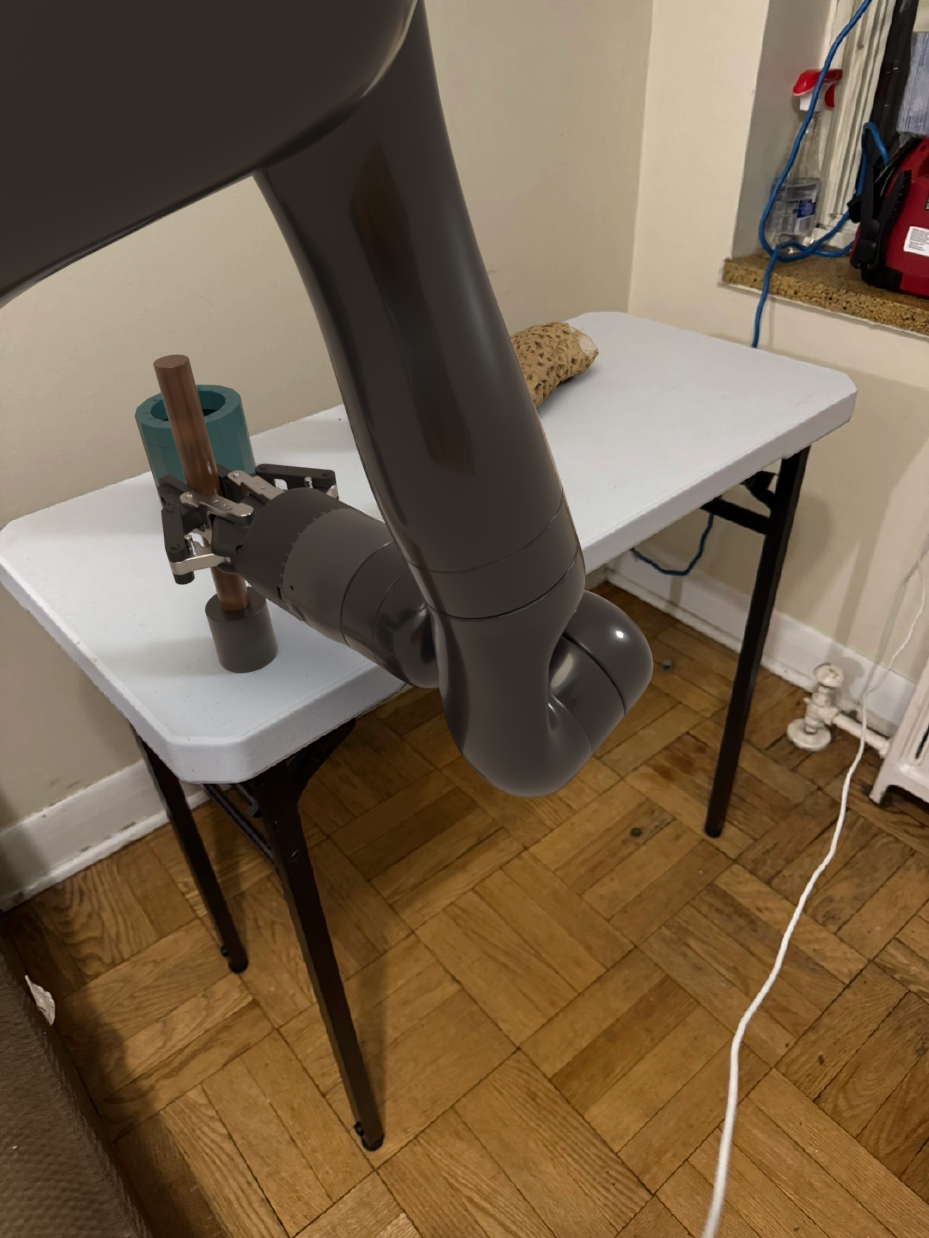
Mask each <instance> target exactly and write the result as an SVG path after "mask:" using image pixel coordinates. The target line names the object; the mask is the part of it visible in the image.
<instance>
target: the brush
mask: <svg viewBox="0 0 929 1238" xmlns="http://www.w3.org/2000/svg"><path fill="white" fill-rule="evenodd" d="M152 366H153V368H154V373H155V376H156V380H157V384H158V387H159V391H160V393H161V394H162V398H163V402H164V405H165V409H166V412H167V416H168V420H169V423H170V427H171V430H172V434H173V437H174V441H175V445H176V448H177V452H178V455H179V459H180V463H181V466H182V470H183V473H184V477H185V480H186V484H187V485H188V486H190V487H192V488H194V489H195V492H197V493H200V494H202V495H204V496H207V497H210V496H212V495H214V494H216V495H218V496H220V497H223V498H224V495H223V491H222V488H221V484H220V480H219V476H218V472H217V468H216V464H215V460H214V456H213V452H212V448H211V444H210V440H209V436H208V432H207V428H206V424H205V420H204V416H203V412H202V408H201V404H200V400H199V396H198V392H197V388H196V385H197V384H196V381H195V377H194V373H193V369H192V364H191V361H190V358H189V356H188V355H185V354H169V355H165V356H161V357H159V358H157V359H155V360H154V361H153V363H152ZM200 537H201V541H202V546H203V547H211V545H210V543H209V542H208V540H207V539H206V538H205V537H203V536H201V535H200ZM209 570H210V573H211V574H210V575H211V577H212V580H213V584H214V587H215V591H216V593H215V594H214V595H212V596H211V597H210V598H209V599H208V600H207V602H206V603H205V605H204V606H205V607H204V613H205V617H206V620H207V623H208V626H209V630H210V634H211V637H212V640H213V643H214V646H215V651H216V653H217V657H218V661H219V663H220V665H221V666H222V667H223V668H224V669H226V670H227V671H230V672H233V673H250V672H254V671H257V670H261V669H262V668H264V667H266V666H267V665H269V664H270V663H271V662H272V661H273V660H274V659H275V658H276V656H277V653H278V642H277V639H276V635H275V634H276V633H275V630H274V627H273V622H272V618H271V613H270V610H269V606H268V600H267V599H266V598H265V597H263V596H262V595H260V594H259V593H258V592H257V591H256V590H254V589H253V588H252V587H251V586H247V582H246V580H245V579H244V578H243V577H241V576H239V575H235V574H228V573H224V572H222V571H220V570H219V569H218V568H217V567H216V566H215V567H210V568H209Z"/></svg>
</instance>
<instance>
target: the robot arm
mask: <svg viewBox="0 0 929 1238" xmlns="http://www.w3.org/2000/svg"><path fill="white" fill-rule="evenodd" d="M425 1H426V0H0V310H2V309H3V308H4V307H5V306H7V305H8V304H9V303H10V302H11V301H13V300H14V299H16V298H18V297H19V296H20V295H22V294H24V293H25V292H26V291H28V290H30V289H31V288H33V287H35V286H36V285H38V284H39V283H41V282H42V281H44V280H46V279H48V278H50V277H52V276H53V275H55V274H57V273H59V272H60V271H62V270H65V269H66V268H67V267H70V266H71V265H73V264H75V263H77V262H79V261H81V260H83V259H85V258H87V257H89V256H91V255H93V254H95V253H97V252H99V251H101V250H103V249H105V248H106V247H109V246H110V245H112V244H115V243H117V242H118V241H121V240H123V239H125V238H126V237H129V236H131V235H133V234H135V233H137V232H139V231H140V230H143V229H145V228H147V227H148V226H151V225H152V224H155V223H156V222H159V221H160V220H162V219H164V218H167V217H168V216H171V215H173V214H175V213H177V212H179V211H181V210H183V209H186V208H187V207H190V206H191V205H194V204H196V203H198V202H200V201H202V200H205V199H206V198H209V197H210V196H212V195H215V194H217V193H219V192H221V191H223V190H225V189H228V188H230V187H231V186H234V185H236V184H239V183H240V182H243V181H244V180H247V179H249V178H251V177H252V179H253V181H254V183H255V185H256V186H257V188H258V190H259V192H260V193H261V195H262V197H263V199H264V201H265V203H266V205H267V207H268V209H269V211H270V213H271V215H272V217H273V219H274V221H275V223H276V226H277V227H278V229H279V231H280V234H281V235H282V238H283V240H284V242H285V244H286V247H287V248H288V251H289V253H290V255H291V258H292V260H293V262H294V264H295V266H296V269H297V273H298V274H299V277H300V280H301V282H302V284H303V287H304V290H305V292H306V295H307V297H308V299H309V302H310V304H311V307H312V309H313V310H312V311H313V313H314V316H315V319H316V321H317V324H318V327H319V330H320V333H321V336H322V338H323V342H324V344H325V348H326V350H327V354H328V357H329V360H330V363H331V367H332V371H333V373H334V375H335V376H334V377H335V380H336V382H337V386H338V389H339V392H340V396H341V399H342V402H343V406H344V409H345V413H346V417H347V420H348V424H349V427H350V431H351V434H352V437H353V440H354V444H355V447H356V450H357V453H358V456H359V459H360V462H361V466H362V469H363V472H364V474H365V478H366V479H367V483H368V486H369V488H370V490H371V493H372V495H373V498H374V501H375V503H376V506H377V508H378V511H379V512H380V515H381V517H382V519H383V521H381V520H379V519H377V518H376V517H373V516H371V515H369V514H367V513H365V512H363V511H361V510H360V509H358V508H355V507H354V506H352V505H350V504H348V503H345V502H343V501H342V500H340V496H339V490H338V483H337V477H336V471H334V470H333V469H327V468H315V467H305V466H295V465H285V464H275V463H260V464H256V467H255V473H251V474H247V473H245V472H244V471H241V470H237V471H231V470H230V469H228V468H226V467H224V466H222V465H220V464H218V463H215V464H216V468H217V472H218V476H219V480H220V484H221V488H222V491H223V495H224V498H223V497H220V496H218V495H216V494H214V495H212V496H210V497H207V496H204V495H202V494H200V493H197V492H195V489H194V488H192V487H190V486H188V485H187V484H185V483H183V482H182V481H180V480H178V479H176V478H175V477H173V476H171V475H169V474H168V475H165V476H163V477H161V478H159V484H160V486H157V488H156V490H157V489H158V492H159V495H160V498H159V500H160V499H161V501H160V503H161V502H162V505H163V508H162V509H161V510H160V513H161V523H162V524H161V525H162V533H163V543H164V551H165V554H166V557H167V560H168V564H169V567H170V570H171V574H172V576H173V580H174V582H175V584H176V585H179V586H185V585H188V584H191V583H193V581H195V579H196V576H195V571H201V570H204V569H205V570H206V569H210V567H215V566H216V567H217V568H218V569H219V570H220V571H222V572H224V573H228V574H235V575H239V576H241V577H243V578H244V579H245V582H246V583H247V584H248V585H249V587H252V588H253V589H254V590H256V591H257V592H258V593H259V594H260V595H262V596H263V597H265V598H266V600H267V601H270V602H271V603H273V604H274V605H275V606H277V607H279V608H280V609H282V610H284V611H285V612H286V613H288V614H289V615H291V616H293V618H295V619H297V620H298V621H300V622H302V623H303V624H305V625H306V626H308V627H310V628H311V629H313V630H314V631H316V632H317V633H318V634H320V635H321V636H323V637H325V638H327V639H329V640H331V641H333V642H335V643H338V644H340V645H342V646H345V647H347V648H349V649H351V650H353V651H354V652H356V653H358V654H360V655H361V656H362V657H365V658H366V659H367V660H369V661H370V662H372V663H374V664H375V665H377V666H378V667H380V668H381V669H383V670H384V671H386V672H387V673H388V674H390V675H392V676H393V677H394V678H396V679H398V680H399V681H402V682H403V683H405V684H407V685H409V686H411V687H413V688H416V689H420V690H427V691H428V690H429V691H430V690H436V689H439V695H440V701H441V706H442V707H441V708H442V712H443V716H444V720H445V723H446V725H447V728H448V731H449V734H450V736H451V739H452V741H453V742H454V744H455V747H456V748H457V751H458V752H459V754H460V755H461V757H462V759H463V760H464V761H465V763H466V764H467V765H468V767H469V768H470V769H471V770H472V771H473V773H475V774H476V775H477V777H479V779H480V780H482V781H483V782H484V783H486V784H487V785H488V786H490V787H491V788H493V789H495V790H496V791H498V792H500V793H502V794H504V795H507V796H510V797H514V798H519V799H524V800H525V799H526V800H527V799H528V800H531V799H542V798H546V797H549V796H552V795H555V794H556V793H558V792H560V791H561V790H563V789H564V788H566V786H568V785H569V784H570V783H571V782H572V781H573V780H574V779H575V778H576V777H577V776H578V774H580V772H581V771H582V770H583V768H584V767H585V766H586V765H587V764H588V762H589V761H590V759H591V758H592V757H593V756H594V755H595V754H596V753H597V751H598V750H599V749H600V748H601V747H602V745H603V744H604V743H605V742H606V740H607V739H608V738H609V737H610V736H611V734H612V733H613V732H614V731H615V729H616V728H617V727H618V726H619V724H621V723H622V720H624V719H625V718H626V716H627V715H628V714H629V713H630V712H631V710H632V709H633V708H634V707H635V706H636V704H637V703H638V702H639V701H640V699H641V698H642V696H644V693H645V692H646V690H647V689H648V688H649V685H650V683H651V680H652V677H653V673H654V660H653V653H652V649H651V648H650V647H651V646H650V644H649V642H648V640H647V637H646V635H644V633H643V632H642V630H641V628H640V627H639V625H638V624H637V623H636V621H634V620H633V619H632V618H631V617H630V616H629V615H628V614H627V613H626V612H625V611H624V610H623V609H621V608H620V607H619V606H618V605H616V604H614V603H613V602H611V601H609V600H608V599H606V598H604V597H602V596H601V595H599V594H597V593H594V592H592V591H590V590H587V589H586V582H587V572H586V563H585V557H584V554H583V550H582V545H581V542H580V539H579V535H578V533H577V532H578V531H577V529H576V525H575V523H574V520H573V519H574V518H573V516H572V512H571V510H570V506H569V503H568V499H567V496H566V493H565V490H564V487H563V486H564V485H563V483H562V479H561V477H560V473H559V471H558V466H557V464H556V461H555V458H554V455H553V453H552V449H551V446H550V444H549V441H548V437H547V435H546V432H545V429H544V426H543V423H542V421H541V419H540V415H539V413H538V410H537V408H536V407H535V404H534V402H533V399H532V396H531V394H530V391H529V388H528V386H527V383H526V380H525V377H524V375H523V372H522V369H521V367H520V364H519V361H518V358H517V356H516V353H515V350H514V347H513V344H512V342H511V339H510V336H511V335H510V333H509V331H508V328H507V325H506V322H505V319H504V317H503V314H502V311H501V309H500V305H499V303H498V299H497V297H496V294H495V291H494V288H493V286H492V283H491V280H490V277H489V274H488V271H487V267H486V265H485V261H484V258H483V255H482V252H481V250H480V246H479V243H478V240H477V237H476V236H477V235H476V233H475V230H474V227H473V223H472V219H471V215H470V213H469V208H468V205H467V201H466V199H465V195H464V191H463V188H462V184H461V180H460V175H459V172H458V169H457V164H456V160H455V157H454V153H453V149H452V145H451V140H450V136H449V132H448V126H447V122H446V118H445V113H444V109H443V104H442V100H441V96H440V90H439V83H438V77H437V70H436V67H435V66H436V65H435V59H434V53H433V48H432V42H431V33H430V27H429V21H428V15H427V8H426V2H425ZM276 480H280V481H284V483H285V484H286V489H283V488H281V487H279V486H277V483H276ZM158 492H157V493H158ZM159 495H158V496H159ZM162 505H161V506H162ZM190 533H195V534H196V535H199V536H200V537H201V536H203V537H205V538H206V539H207V540H208V542H209V543H210V545H211V547H204V545H201V543H200V542H199V541H197V540H194V538H193V536H192V534H190Z"/></svg>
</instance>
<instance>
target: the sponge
mask: <svg viewBox="0 0 929 1238" xmlns="http://www.w3.org/2000/svg"><path fill="white" fill-rule="evenodd" d="M509 336H510V339H511V342H512V344H513V347H514V350H515V353H516V356H517V358H518V361H519V364H520V367H521V369H522V372H523V375H524V377H525V380H526V383H527V386H528V388H529V391H530V394H531V396H532V399H533V402H534V404H535V407H536V409H538V408H539V407H540V406H541V405H542V404H543V403H544V402H545V401H546V400H547V399H548V398H549V397H551V395H552V394H553V393H554V391H555V390H556V389H557V386H558V385H559V384H560V382H564V381H565V380H567V379H569V378H571V377H574V376H580V375H583V374H584V373H585V372H586V371H587V370H588V369H589V368H590V367H591V366H592V364H593V363H594V362H595V360H596V358H597V357H598V356H599V354H600V353H599V349H598V347H597V345H596V344H595V342H594V340H593V339H592V338H591V337H590V335H588V334H586V333H584V332H582V331H581V330H580V329H577V328H575V327H574V326H571V325H570V324H569V322H563V321H558V320H552V321H550V322H547V323H545V324H544V323H541V324H535V325H532V326H530V327H526V328H525V329H523V330H521V331H517V332H515V333H514V334H512V335H509Z"/></svg>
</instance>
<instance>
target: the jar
mask: <svg viewBox="0 0 929 1238" xmlns="http://www.w3.org/2000/svg"><path fill="white" fill-rule="evenodd" d="M196 388H197V392H198V396H199V400H200V404H201V408H202V412H203V416H204V420H205V424H206V428H207V432H208V436H209V440H210V444H211V448H212V452H213V456H214V460H215V463H218V464H220V465H222V466H224V467H226V468H228V469H230V470H231V471H237V470H241V471H244V472H245V473H247V474H251V473H255V467H256V466H257V464H256V460H255V455H254V451H253V446H252V442H251V441H252V440H251V438H250V432H249V428H248V423H247V420H246V415H245V410H244V406H243V402H242V397H241V394H240V393H238V392H237V390H235V389H234V388H231V387H227V386H224V385H220V384H196ZM134 420H135V423H136V425H137V430H138V432H139V436H140V439H141V442H142V446H143V449H144V452H145V455H146V458H147V459H146V460H147V462H148V465H149V468H150V471H151V475H152V478H153V481H154V485H155V488H156V491H157V495H158V498H159V501H160V505H161V507H162V509H163V505H162V502H161V499H160V495H159V492H158V489H157V486H160V484H159V478H161V477H163V476H165V475H168V474H169V475H171V476H173V477H175V478H176V479H178V480H180V481H182V482H183V483H185V484H186V480H185V477H184V473H183V470H182V466H181V463H180V459H179V455H178V452H177V448H176V445H175V441H174V437H173V434H172V430H171V427H170V423H169V420H168V416H167V412H166V409H165V405H164V402H163V398H162V394H161V392H159V393H156V394H154V395H152V396H150V397H148V398H146V399H145V400H144V401H143V402H142V403H141V404H140V405H138V406H137V407H136V409H135V412H134Z"/></svg>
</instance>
